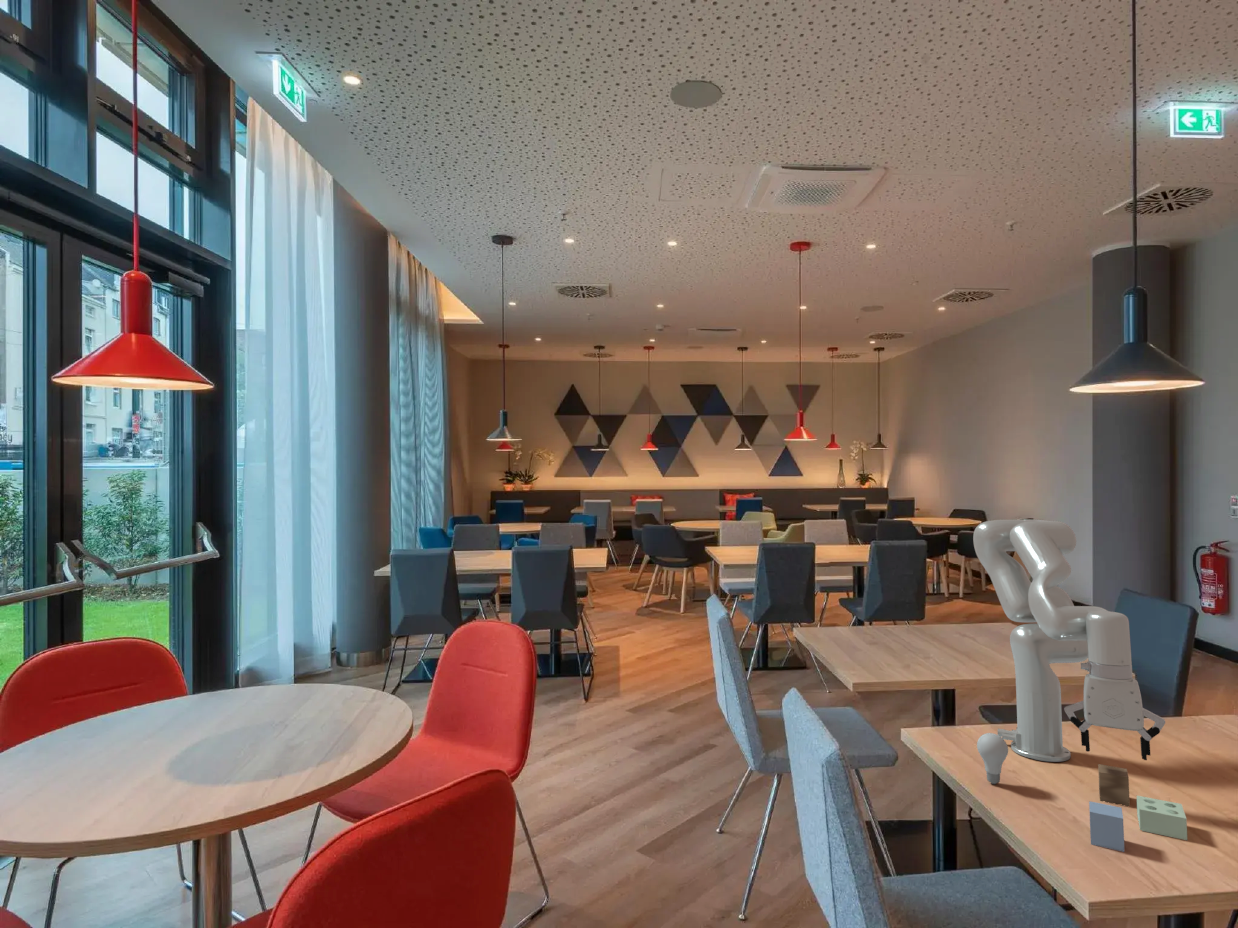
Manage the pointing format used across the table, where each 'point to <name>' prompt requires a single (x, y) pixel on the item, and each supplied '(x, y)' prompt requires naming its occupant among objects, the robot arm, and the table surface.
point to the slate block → (1106, 826)
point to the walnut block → (1113, 785)
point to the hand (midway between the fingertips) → (1115, 753)
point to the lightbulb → (992, 755)
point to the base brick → (1161, 817)
